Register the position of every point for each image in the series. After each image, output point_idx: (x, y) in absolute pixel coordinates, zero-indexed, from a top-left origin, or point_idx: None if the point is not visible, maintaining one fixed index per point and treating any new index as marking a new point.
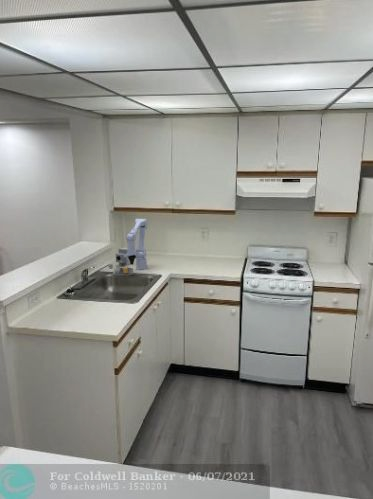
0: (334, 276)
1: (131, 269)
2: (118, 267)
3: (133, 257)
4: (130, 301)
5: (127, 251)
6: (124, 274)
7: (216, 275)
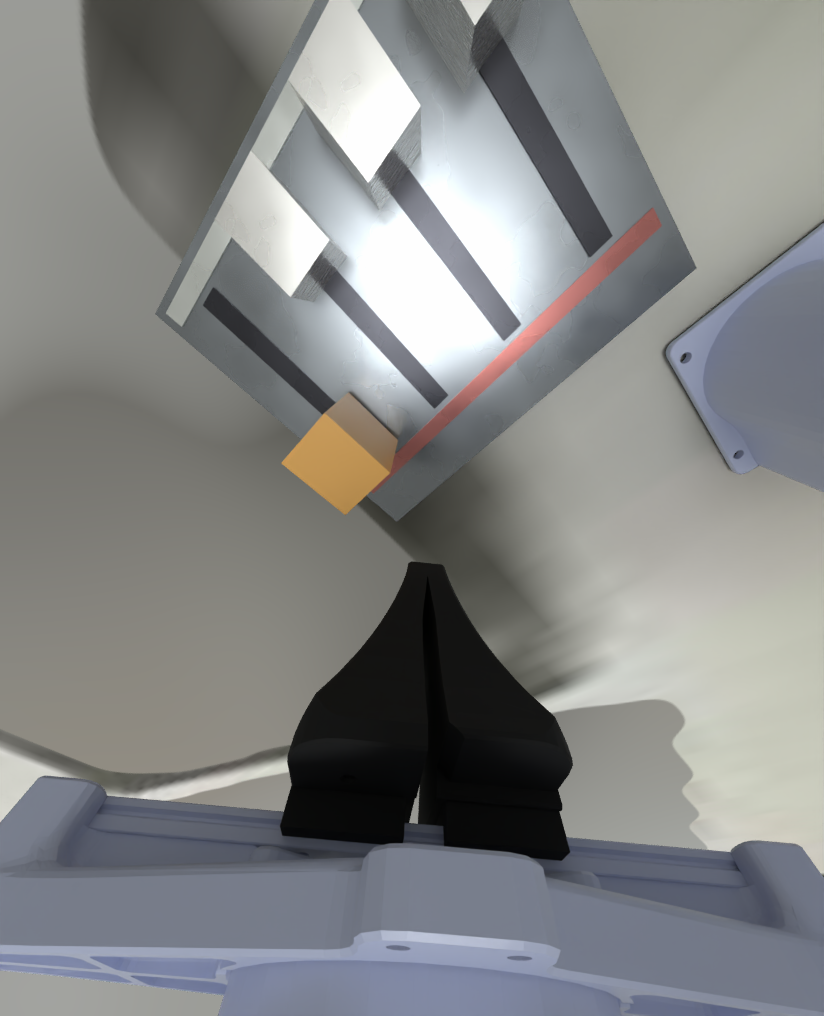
0: None
1: (570, 346)
2: (344, 154)
3: (419, 798)
4: (97, 778)
5: None
6: None
7: (713, 841)
